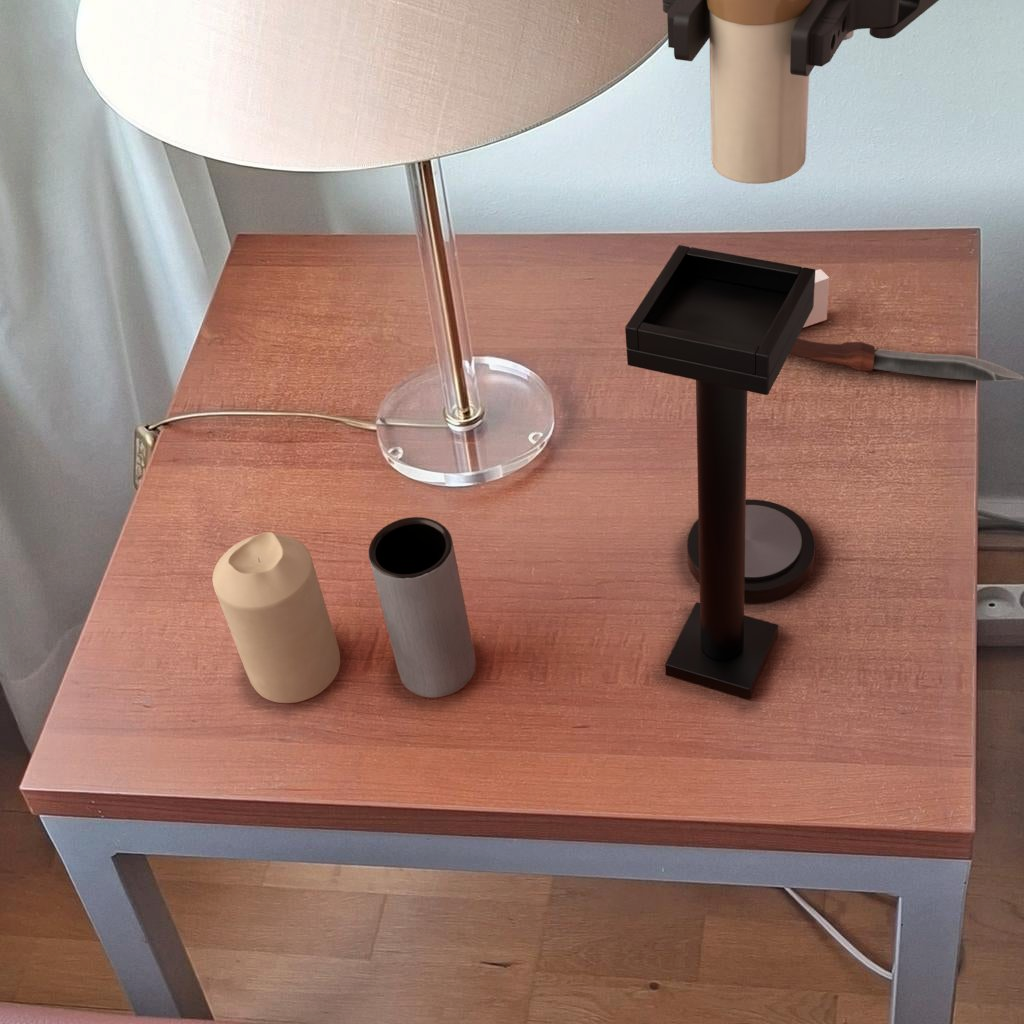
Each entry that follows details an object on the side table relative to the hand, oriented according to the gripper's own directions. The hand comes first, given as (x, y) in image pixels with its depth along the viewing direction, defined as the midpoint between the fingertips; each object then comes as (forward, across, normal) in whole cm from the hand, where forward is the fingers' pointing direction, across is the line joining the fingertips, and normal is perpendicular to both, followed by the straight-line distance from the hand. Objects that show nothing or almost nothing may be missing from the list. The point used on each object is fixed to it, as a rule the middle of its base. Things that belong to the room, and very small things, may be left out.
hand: (740, 47), depth 60 cm
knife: (-21, +3, +34) cm, 40 cm away
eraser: (-25, -4, +35) cm, 43 cm away
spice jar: (-3, 0, +7) cm, 7 cm away
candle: (+15, -22, +34) cm, 44 cm away
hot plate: (-2, 0, +34) cm, 34 cm away
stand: (+5, +1, +34) cm, 35 cm away
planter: (+12, -14, +34) cm, 39 cm away
